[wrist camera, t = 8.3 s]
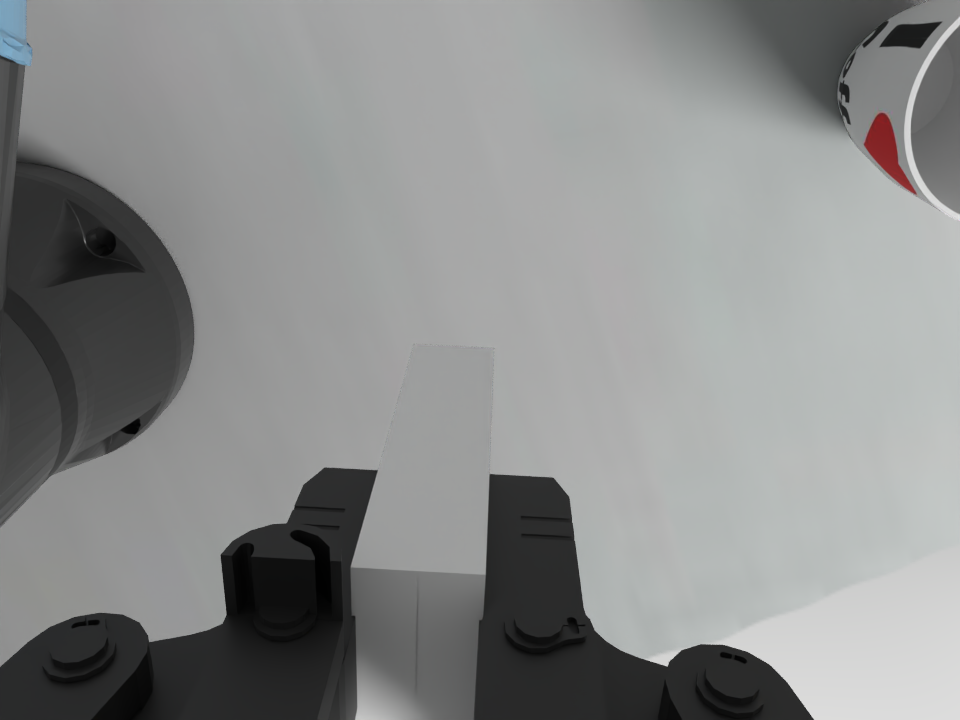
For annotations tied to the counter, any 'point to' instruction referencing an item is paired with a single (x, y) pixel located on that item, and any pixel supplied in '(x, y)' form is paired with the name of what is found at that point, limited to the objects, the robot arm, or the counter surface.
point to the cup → (909, 101)
